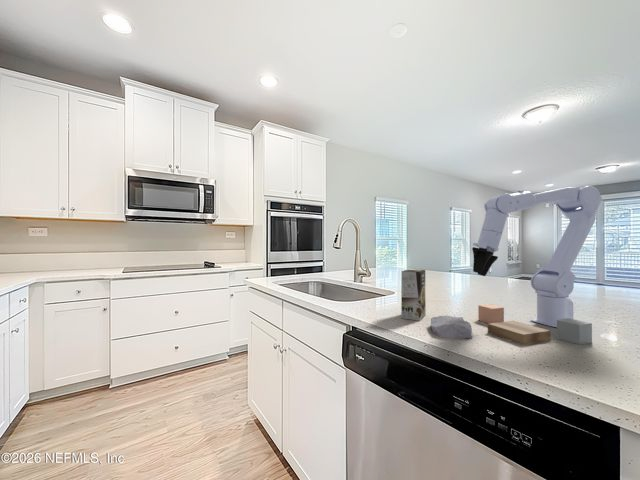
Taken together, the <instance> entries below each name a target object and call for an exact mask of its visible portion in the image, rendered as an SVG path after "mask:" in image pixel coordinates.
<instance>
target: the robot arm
mask: <svg viewBox="0 0 640 480" xmlns="http://www.w3.org/2000/svg"><path fill="white" fill-rule="evenodd" d="M602 201H603V198H602V195H601V193H600V191H599V190H598V188H596V186H592V185H586V186H584V187H582V186H571V187H562V188H556V189H552V190H549V191H548V190H547V191H542V192H538V193H533V192H531V191H529V190H527V191H526V190H524V189H520V190H516V192H514V193H509V192H506V193H503V194H500V195H498V196H497V195H496V196H494V197H491V198H489V199H488V200H487V201H486V203H484V211H485V214H484V215H485V216H484V221H483V223H482V227H481V231H480V234H479V237H478V241H477V243H476V242H473V243H472V245H473V246H474V247H472V249H471V251H472V253H473V265H472V266H473V267H472V272H473V273H475V274H476V273H477V275H479V276H482V277H486V276H487V274H488V272H489V270H490V269H491V267H492V266H493V264H494V263H495V262H496V261H497V260H498V258H499V257H498V256H496V255H494V253H496V252H498V251H499V246H500V242H501V239H502V237H503V232H504V228H505V226H506V221H507V219H508V215H509V214H511V213H514V212H519V211H526V210H531V209H532V208H533V207H534V206H535V204H541V203H549V202H551V203H552V205H555V206H556V207H557V208H558V210H559V211H560V212H561V213H562V214H563V215H564V216H565V217H566V218H567V219H569V223H568V224H567V227H566V229H565V230H564V233H563V235H562V236H561V238H560V240H559V242H558V244H557V246H556V248H555V250H554V252H553V254H552V256H551V257H550V260H549V262H548V263H546V264H545V265H543V266H541V267H539V269H538V270H537V272H536V273H534V274H533V275H532V276H531V279H530V285H531V288H532V289H533V290H535V292H534V293H535V294H536V318H530V322H534V323H537V324H542V325H545V326H549V327H554V328H557V320H560V319H567V318H570V319H575V318H574V302H573V301H572V299H571V298H570V297H569V296H570V295H571V294H572V293H573V291H574V287H575V286H574V285H575V283H574V282H575V280H576V278H577V277H576V275H575V273H573V271H571V269H572V267H573V265H574V263H575V261H576V260H577V258H578V255H579V253H580V252H581V250H582V247H583V246H584V243H585V242H586V240H587V237H588V236H589V234H590V232H591V229H592V228H593V226H594V224H595V221H596V217H597V210H598V208H599V206H600V205H601V203H602Z"/></svg>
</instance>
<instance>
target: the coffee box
mask: <svg viewBox="0 0 640 480" xmlns="http://www.w3.org/2000/svg"><path fill="white" fill-rule="evenodd" d="M400 288H401V295H400V297H401V299H400V300H401V302H400V303H401V309H400V310H401V315H400V316H401V319H405V320H409V321H410V320H411V321H417V322H419V321H422V319H423V318H424V317H425V316H426V312H427V311H426V310H427V309H426V307H427V306H426V305H427V304H426V303H427V302H426V270H425V269H405V270H401V287H400Z"/></svg>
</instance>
